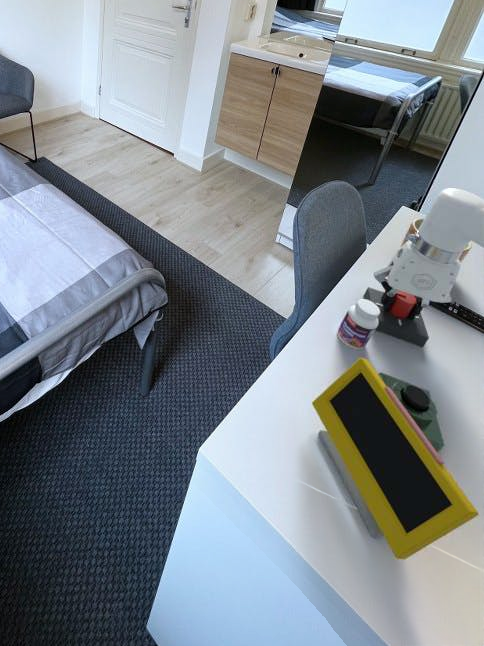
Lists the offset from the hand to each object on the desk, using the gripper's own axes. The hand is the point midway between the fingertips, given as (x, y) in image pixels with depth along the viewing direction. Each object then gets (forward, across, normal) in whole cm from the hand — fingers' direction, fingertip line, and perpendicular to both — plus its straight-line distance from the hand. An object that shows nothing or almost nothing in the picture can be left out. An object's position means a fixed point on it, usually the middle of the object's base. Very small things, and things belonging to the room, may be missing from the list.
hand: (397, 309), depth 92 cm
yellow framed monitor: (+4, -10, -38) cm, 40 cm away
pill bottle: (+4, -9, -10) cm, 14 cm away
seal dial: (0, 0, 0) cm, 0 cm away
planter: (+4, +11, +25) cm, 28 cm away
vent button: (0, -2, -23) cm, 23 cm away
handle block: (+3, 0, 0) cm, 3 cm away
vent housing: (+3, -2, -23) cm, 23 cm away
